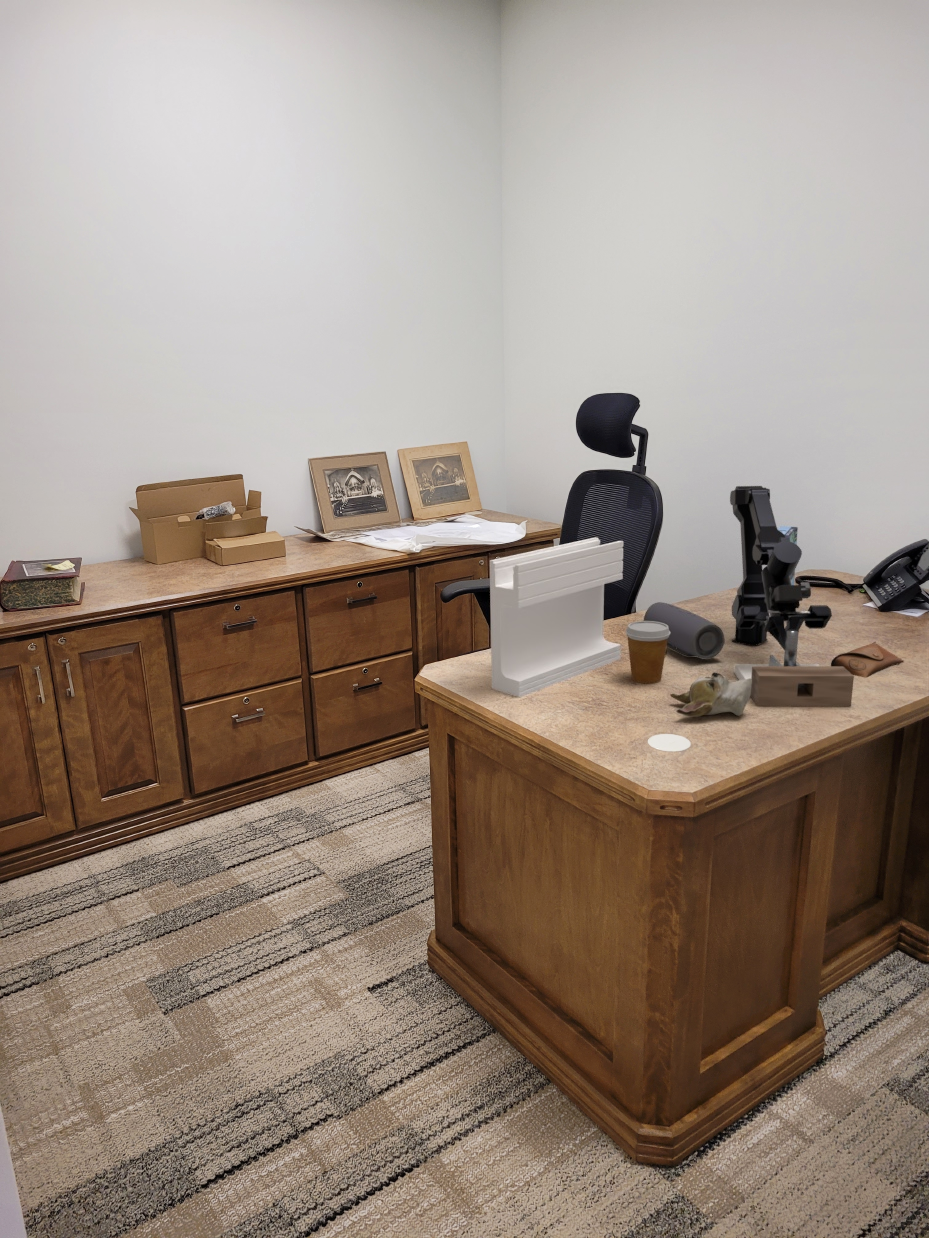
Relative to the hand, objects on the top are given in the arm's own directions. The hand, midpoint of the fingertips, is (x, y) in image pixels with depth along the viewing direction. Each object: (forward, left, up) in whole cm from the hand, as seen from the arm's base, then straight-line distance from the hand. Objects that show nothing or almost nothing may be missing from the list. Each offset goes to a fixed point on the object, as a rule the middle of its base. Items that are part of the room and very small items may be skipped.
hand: (788, 651), depth 183 cm
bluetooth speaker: (-30, +7, -8) cm, 31 cm away
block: (-42, -25, -8) cm, 49 cm away
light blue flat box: (-27, +53, -8) cm, 60 cm away
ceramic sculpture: (-4, -25, -8) cm, 26 cm away
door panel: (-2, +2, -7) cm, 8 cm away
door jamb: (+6, -7, -7) cm, 12 cm away
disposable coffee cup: (-25, -16, -8) cm, 30 cm away
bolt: (+3, -3, -5) cm, 7 cm away
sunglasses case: (+8, +24, -8) cm, 27 cm away
